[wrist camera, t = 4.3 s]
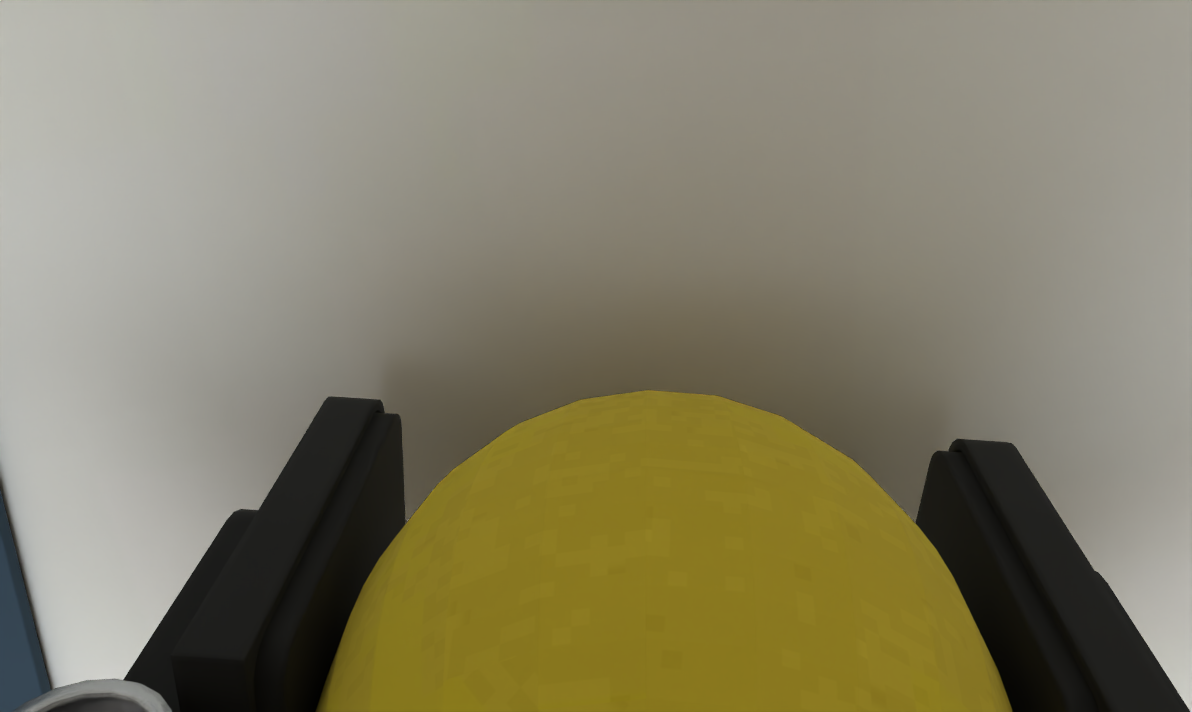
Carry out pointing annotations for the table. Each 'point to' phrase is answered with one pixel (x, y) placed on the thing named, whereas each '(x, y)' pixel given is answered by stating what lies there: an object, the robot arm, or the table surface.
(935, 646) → the lemon
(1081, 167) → the table surface
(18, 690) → the mat
